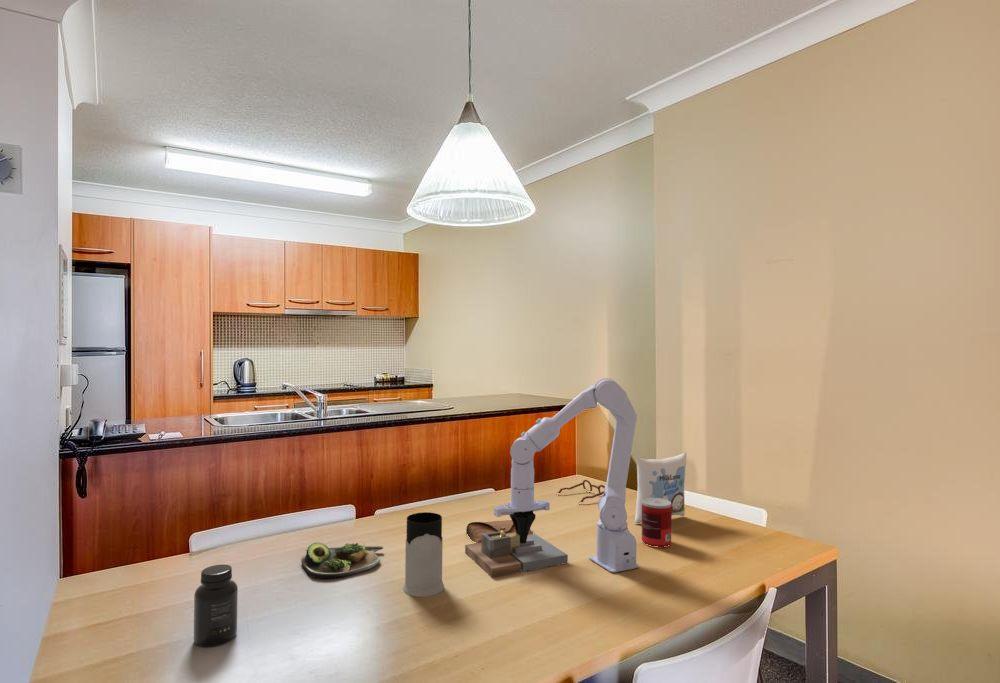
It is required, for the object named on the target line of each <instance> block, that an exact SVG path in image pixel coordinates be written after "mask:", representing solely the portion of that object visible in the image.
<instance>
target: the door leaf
mask: <svg viewBox="0 0 1000 683" xmlns="http://www.w3.org/2000/svg"><path fill="white" fill-rule="evenodd" d="M510 555H511V556H512V557H514V558H515V559H516V560H518V561H519V562H520V563H521V572H528V571H527V570H529V571H533V569H534V570H539V569H543V568H542V567H545V568H548V567H547V566H550V567H553V565H555V566H559V565H558V564H561V565H563V564H562V563H566V564H568V563H567V562H569V561H568V558H569V557H568V556H569V554H567V553H565V552H564V551H563V550H561V549H560V548H558V547H556V546H555V545H553V544H552V543H550V542H549V541H547V540H545V539H544V538H542V537H541V536H539V535H538V534H536V533H532V535H528V536H527V540H526V543H523V544H521V543H520V548H515V551H512V552H510ZM538 568H539V569H538Z"/></svg>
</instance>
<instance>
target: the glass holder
mask: <svg viewBox="0 0 1000 683" xmlns="http://www.w3.org/2000/svg"><path fill="white" fill-rule="evenodd" d="M442 531H443V516H442V515H441V514H438V513H435V512H424V511H423V512H416V513H412V514H410V515H408V516H407V517H406V539H405V557H404V558H405V559H404V560H405V564H404V566H405V571H404V573H405V574H404V575H405V577H404V578H405V580H404V584H403V587H402V591H403V592H404V593H405V594H406V595H408V596H410V597H417V598H427V597H432V596H435V595H438V594H440V593H442V591H444V589H445V585H444V582H443V535H442V533H443V532H442Z"/></svg>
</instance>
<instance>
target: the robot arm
mask: <svg viewBox="0 0 1000 683" xmlns="http://www.w3.org/2000/svg"><path fill="white" fill-rule="evenodd" d="M597 403H598V404H599V405H600V406H602V407H603V408H604V409H606V410H608V412H610V414H611V415H612V416H613V417H614V419H615V426H614V432H613V437H612V445H611V452H610V457H609V463H608V471H607V478H606V483H605V485H604V486H605V489H604V490H603V491H604V494H602V497H601V496H600V498H599V500H598V510H599V519H598V520H597V522H596V555H592V556H589V557H588V558H589V560H591V562H594V563H595V564H597V565H599V566H600V567H602V568H603V569H605V570H607V571H608V572H610V573H612V574H613V573H614V574H615V573H619V572H624V571H628V570H633V568H634V569H638V568H640V565H639V564H638V563H637V539H636V537H635V536H634V535H633V534H632V533H631V532H630V530H629V528H628V522H627V519H628V513H627V510H626V498H627V497H626V496H627V495H626V494H627V493H626V492H627V491H626V490H627V483H628V482H627V481H628V475H629V470H630V464H631V456H632V449H633V445H634V443H633V442H634V437H635V431H636V430H635V429H636V424H637V413H636V411H635V408H634V406H633V404H632V402H631V400H630V398H629V396H628V394H627V392H626V390H624V389H623V387H622V386H621V385H619V384H618V383H617V382H616V381H615V380H614V379H612V378H609V377H607V378H606V377H605V378H602V379H599V380H598V381H597V382H596V383H595V384H592V385H590V386H588V387H587V388H586V389H584V390H582V391H581V392H580V393H578V394H577V396H575V397H574V398H573V399H572V400H571V401H570V402H568V403H567V404H566V405H565V406H564V407H563V408H562V409H560V411H558V412H557V413H555V415H554V416H551V417H547V416H546V417H545V416H544V417H542V418H539V417H538V419H536V420H535V424H534V425H533V426H532V427H530V428H529V429H528V430H527V431H523V432H521V434H520V436H521V437H520V436H519V437H518V438H516V439H515V440H514V442H513V443H512V445H511V447H510V451H509V454H510V456H511V468H510V503H506V504H502V505H498V506H493V515H494V516H495V517H496V518H500V517H502V516H508V515H509V518H510V520H512V521H513V524H514V526H515V530H516V533H517V534H519V535H520V543H521V544H523V543H526V540H527V536H528V533H529V530H530V529H531V527H532V525H533V523H534V521H535V520H536V513H534V512H539V511H550V509H551V507H550V506H551V505H550V502H549V501H548V500H535V467H534V456H535V454H536V453H537V452H538V453H539V452H541V451H542V450H543V449H544V448H546V447H547V446H548V445H549V444H551V443H552V442H553V441H554V440H555V439H556V438H558V437H559V436H560V434H561V432H560V431H561V428H562V427H563V426H565V425H566V424H568V422H569V421H570V420H572V419H574V418H575V417H576V416H577V415H580V413H582V412H583V411H584V410H586V409H592V408H598V405H597Z"/></svg>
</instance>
